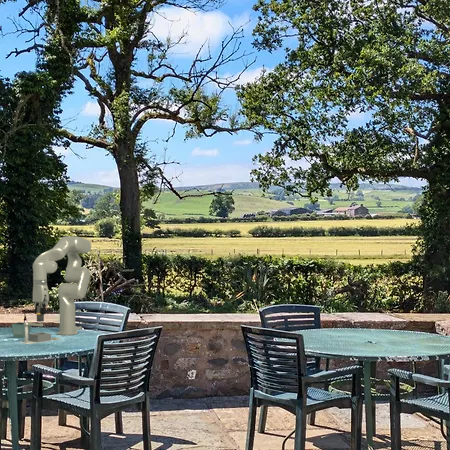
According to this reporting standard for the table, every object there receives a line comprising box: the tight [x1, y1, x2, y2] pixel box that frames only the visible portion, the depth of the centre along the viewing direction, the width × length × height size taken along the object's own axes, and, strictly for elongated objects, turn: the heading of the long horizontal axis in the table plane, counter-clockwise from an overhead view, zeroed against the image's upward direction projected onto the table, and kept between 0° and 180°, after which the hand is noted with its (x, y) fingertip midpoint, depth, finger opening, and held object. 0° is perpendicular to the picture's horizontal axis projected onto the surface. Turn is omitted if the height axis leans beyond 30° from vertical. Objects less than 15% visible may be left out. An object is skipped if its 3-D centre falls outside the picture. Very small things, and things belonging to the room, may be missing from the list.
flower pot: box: [11, 321, 32, 339], centre depth 418 cm, size 9×9×9 cm
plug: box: [35, 304, 45, 323], centre depth 406 cm, size 5×5×9 cm
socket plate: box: [19, 326, 54, 345], centre depth 404 cm, size 17×10×10 cm, turn 139°
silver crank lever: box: [23, 321, 44, 327], centre depth 397 cm, size 13×3×2 cm, turn 64°
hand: (40, 313), depth 407 cm, fingers closed on plug, 4 cm apart
